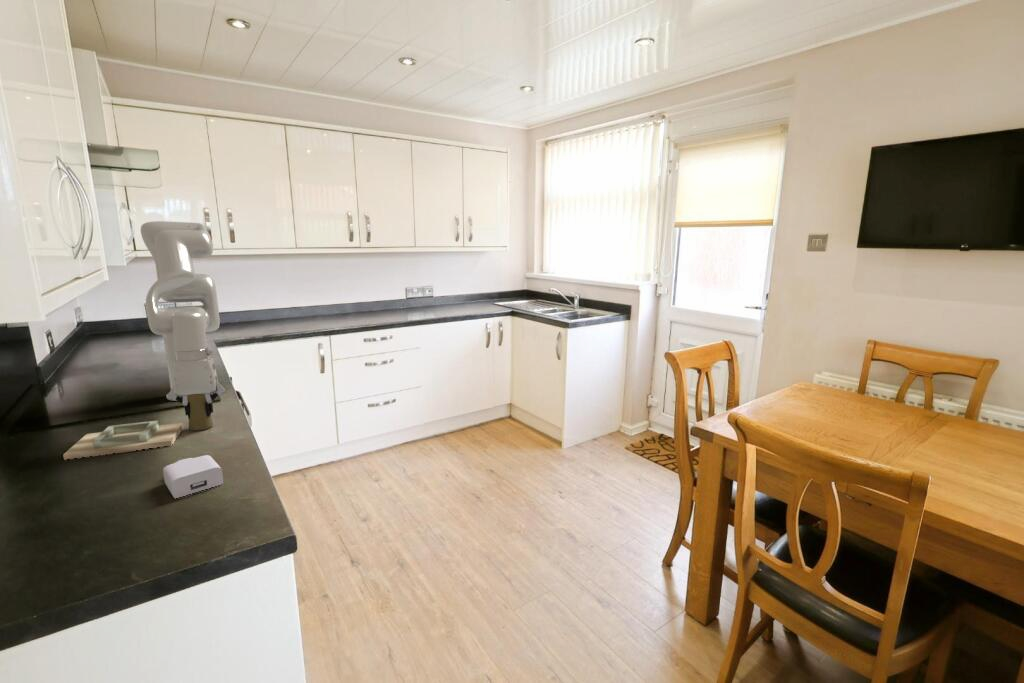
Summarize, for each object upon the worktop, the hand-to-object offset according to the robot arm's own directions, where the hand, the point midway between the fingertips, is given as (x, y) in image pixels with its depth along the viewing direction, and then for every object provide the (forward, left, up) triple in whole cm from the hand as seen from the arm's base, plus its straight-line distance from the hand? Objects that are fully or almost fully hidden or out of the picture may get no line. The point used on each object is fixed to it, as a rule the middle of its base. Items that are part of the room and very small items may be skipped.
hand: (200, 415), depth 135 cm
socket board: (+5, -16, -4) cm, 17 cm away
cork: (0, 0, -3) cm, 3 cm away
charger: (+35, +4, -4) cm, 35 cm away
